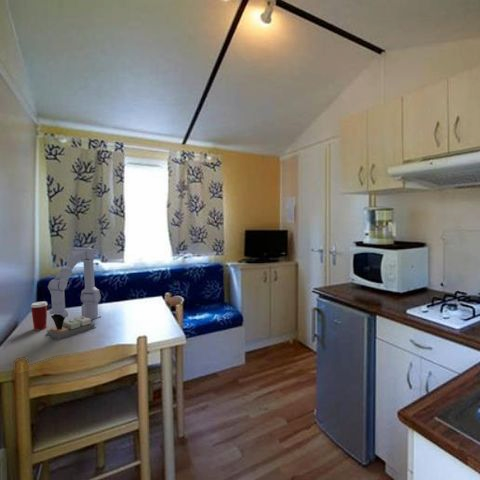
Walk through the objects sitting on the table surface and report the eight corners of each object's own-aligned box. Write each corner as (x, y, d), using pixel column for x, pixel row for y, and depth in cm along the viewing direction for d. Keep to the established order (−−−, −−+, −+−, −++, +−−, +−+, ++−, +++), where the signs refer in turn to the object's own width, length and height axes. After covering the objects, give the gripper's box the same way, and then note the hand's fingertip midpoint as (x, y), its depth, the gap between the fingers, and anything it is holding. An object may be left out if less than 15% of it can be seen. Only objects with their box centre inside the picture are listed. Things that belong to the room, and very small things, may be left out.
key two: (62, 326, 154) (62, 321, 154) (71, 323, 158) (71, 318, 158) (71, 329, 149) (71, 324, 149) (80, 326, 153) (80, 321, 153)
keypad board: (45, 334, 149) (44, 330, 149) (83, 323, 166) (83, 319, 166) (57, 340, 142) (57, 335, 142) (96, 327, 159) (96, 323, 159)
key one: (74, 322, 159) (73, 318, 159) (82, 320, 163) (82, 315, 163) (83, 325, 154) (82, 321, 154) (91, 323, 158) (91, 318, 158)
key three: (50, 332, 149) (50, 327, 149) (59, 330, 153) (59, 325, 153) (59, 336, 144) (59, 331, 144) (68, 333, 148) (68, 328, 148)
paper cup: (51, 326, 160) (50, 301, 159) (38, 331, 153) (37, 305, 152) (41, 325, 163) (40, 300, 162) (28, 329, 156) (26, 304, 155)
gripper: (42, 302, 148) (44, 327, 149) (57, 306, 140) (58, 333, 141) (57, 299, 154) (58, 323, 155) (71, 303, 146) (72, 329, 147)
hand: (59, 328), depth 148 cm, fingers closed, pressing on key three
